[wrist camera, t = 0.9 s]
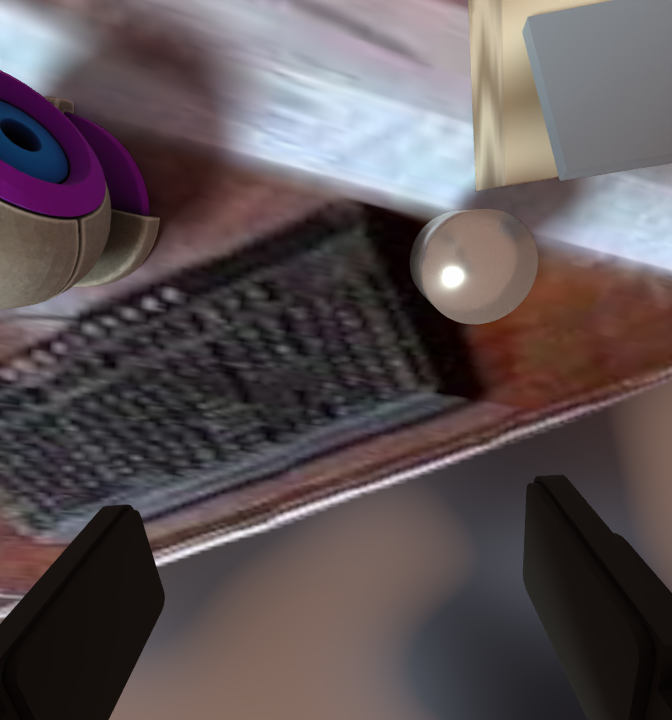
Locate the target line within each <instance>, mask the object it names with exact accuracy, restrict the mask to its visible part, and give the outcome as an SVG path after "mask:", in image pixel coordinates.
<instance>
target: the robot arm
mask: <svg viewBox="0 0 672 720" xmlns="http://www.w3.org/2000/svg"><path fill="white" fill-rule="evenodd" d="M526 493H527V494H526V515H525V537H524V559H523V579H524V584H525V587H526V590H527V592H528V594H529V597H530V599H531V601H532V603H533V605H534V607H535V609H536V612H537V614H538V616H539V618H540V620H541V622H542V624H543V626H544V629H545V631H546V632H547V635H548V637H549V639H550V641H551V643H552V645H553V647H554V650H555V652H556V654H557V656H558V658H559V660H560V662H561V664H562V666H563V668H564V671H565V673H566V674H567V677H568V679H569V681H570V683H571V685H572V687H573V690H574V691H575V694H576V696H577V698H578V700H579V702H580V704H581V706H582V708H583V711H584V713H585V715H586V717H587V719H588V720H672V593H671V592H670V590H669V589H668V588H667V587H666V586H665V585H664V584H663V582H662V581H661V580H660V579H659V578H658V577H657V575H656V574H655V573H654V572H653V571H652V570H651V569H650V568H649V566H648V565H647V564H646V563H645V562H644V560H643V559H642V558H641V557H640V556H639V555H638V553H637V552H636V551H635V550H634V549H633V548H632V546H631V545H630V544H629V543H628V542H627V541H626V540H625V539H624V538H623V537H622V536H620V535H618V534H616V533H613V532H612V531H611V530H610V529H609V528H608V527H607V525H606V524H605V523H604V522H603V520H602V519H601V518H600V517H599V516H598V515H597V513H596V512H595V511H594V510H593V509H592V507H591V506H590V505H589V504H588V503H587V501H586V500H585V499H584V498H583V497H582V496H581V494H580V493H579V492H578V491H577V490H576V488H575V487H574V486H573V485H572V484H571V483H570V481H569V480H568V479H567V478H566V477H565V476H564V475H549V476H537V477H536V478H535V480H534V483H529V484H528V485H527V492H526ZM164 600H165V596H164V590H163V587H162V584H161V580H160V577H159V574H158V571H157V567H156V564H155V561H154V558H153V555H152V551H151V548H150V545H149V542H148V538H147V535H146V532H145V529H144V525H143V522H142V519H141V516H140V513H139V512H138V511H137V510H134V509H133V507H132V506H131V505H113V506H105V507H103V508H102V509H101V510H100V511H99V512H98V513H97V514H96V515H95V516H94V517H93V519H92V520H91V521H90V522H89V523H88V524H87V525H86V527H85V528H84V529H83V530H82V531H81V532H80V533H79V535H78V536H77V537H76V538H75V539H74V540H73V541H72V543H71V544H70V545H69V546H68V547H67V548H66V549H65V551H64V552H63V553H62V554H61V555H60V556H59V557H58V559H57V560H56V561H55V562H54V563H53V564H52V565H51V567H50V568H49V569H48V570H47V571H46V572H45V573H44V575H43V576H42V577H41V578H40V579H39V580H38V581H37V583H36V584H35V585H34V586H33V587H32V588H31V589H30V591H29V592H28V593H27V594H26V595H25V596H24V597H23V599H22V600H21V601H20V602H19V603H18V604H17V605H16V607H15V608H14V609H13V610H12V611H11V612H10V613H9V614H8V616H7V617H6V618H5V619H4V620H3V621H2V623H1V624H0V720H109V718H110V716H111V714H112V711H113V710H114V708H115V706H116V703H117V701H118V699H119V697H120V695H121V693H122V691H123V689H124V687H125V685H126V683H127V681H128V679H129V677H130V675H131V673H132V671H133V669H134V667H135V665H136V662H137V660H138V658H139V656H140V654H141V652H142V650H143V648H144V646H145V644H146V642H147V640H148V638H149V636H150V634H151V632H152V630H153V628H154V626H155V624H156V621H157V619H158V617H159V615H160V613H161V611H162V609H163V606H164Z"/></svg>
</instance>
